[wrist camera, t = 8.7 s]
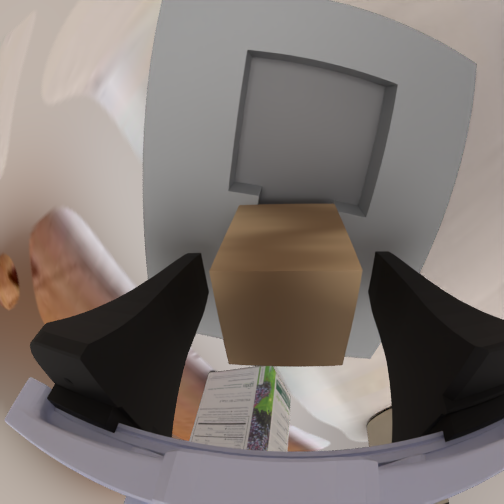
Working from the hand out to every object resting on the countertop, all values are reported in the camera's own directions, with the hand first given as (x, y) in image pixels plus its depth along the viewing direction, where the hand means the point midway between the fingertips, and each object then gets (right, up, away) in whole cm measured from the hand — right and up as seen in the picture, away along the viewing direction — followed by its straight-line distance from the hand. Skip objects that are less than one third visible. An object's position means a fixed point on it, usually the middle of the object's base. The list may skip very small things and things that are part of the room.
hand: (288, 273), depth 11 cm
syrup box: (-2, -10, +11) cm, 15 cm away
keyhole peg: (0, +2, +2) cm, 3 cm away
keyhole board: (+1, +4, +2) cm, 4 cm away
